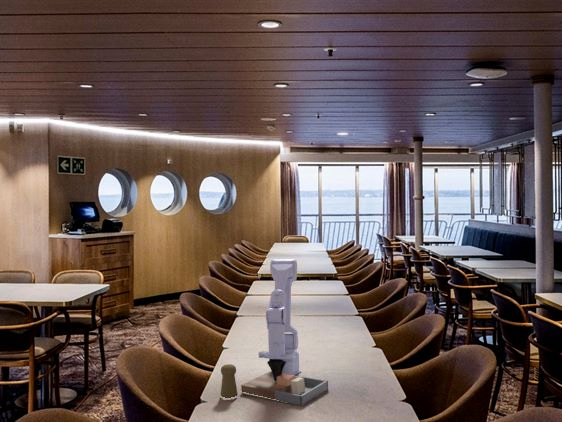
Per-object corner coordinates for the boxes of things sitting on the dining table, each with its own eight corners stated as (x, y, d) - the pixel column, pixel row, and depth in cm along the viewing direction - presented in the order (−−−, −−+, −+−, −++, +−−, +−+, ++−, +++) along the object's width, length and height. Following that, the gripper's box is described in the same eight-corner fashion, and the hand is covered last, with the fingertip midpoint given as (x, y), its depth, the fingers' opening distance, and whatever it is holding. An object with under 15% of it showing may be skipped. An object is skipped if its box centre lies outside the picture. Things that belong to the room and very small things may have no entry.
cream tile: (297, 377, 193) (303, 377, 191) (299, 390, 193) (305, 391, 191) (290, 381, 189) (297, 381, 188) (292, 394, 189) (298, 394, 187)
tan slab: (270, 379, 207) (270, 371, 207) (302, 385, 200) (302, 376, 200) (241, 393, 192) (241, 385, 192) (275, 400, 185) (274, 391, 185)
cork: (238, 394, 192) (237, 362, 192) (237, 400, 186) (236, 367, 186) (220, 394, 192) (220, 362, 192) (219, 400, 186) (218, 368, 186)
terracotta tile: (283, 380, 196) (283, 373, 196) (294, 382, 194) (294, 375, 194) (276, 384, 192) (276, 377, 192) (287, 386, 190) (287, 379, 190)
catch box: (302, 385, 200) (302, 376, 200) (328, 389, 194) (327, 380, 194) (275, 400, 185) (274, 391, 185) (301, 406, 179) (301, 396, 179)
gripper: (253, 341, 195) (254, 380, 195) (287, 346, 187) (288, 386, 187) (264, 337, 201) (265, 374, 201) (298, 342, 193) (299, 381, 193)
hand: (277, 380), depth 195 cm, fingers closed
